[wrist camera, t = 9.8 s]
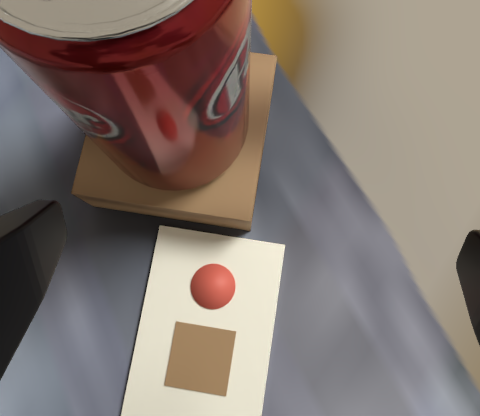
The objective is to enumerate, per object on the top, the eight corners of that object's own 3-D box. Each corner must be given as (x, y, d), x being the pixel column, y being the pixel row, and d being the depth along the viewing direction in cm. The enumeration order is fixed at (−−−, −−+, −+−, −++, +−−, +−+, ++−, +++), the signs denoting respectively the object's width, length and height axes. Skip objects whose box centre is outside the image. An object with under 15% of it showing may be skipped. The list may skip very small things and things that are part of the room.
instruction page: (257, 441, 21) (257, 443, 20) (121, 417, 21) (119, 418, 21) (284, 245, 23) (285, 244, 22) (160, 225, 23) (159, 225, 23)
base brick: (250, 230, 23) (251, 221, 20) (92, 206, 23) (71, 193, 20) (273, 84, 25) (277, 55, 22) (127, 63, 25) (111, 33, 22)
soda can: (121, 209, 20) (-54, 89, 8) (95, 78, 22) (-83, -181, 10) (264, 175, 20) (291, 11, 9) (230, 47, 22) (212, -239, 10)
